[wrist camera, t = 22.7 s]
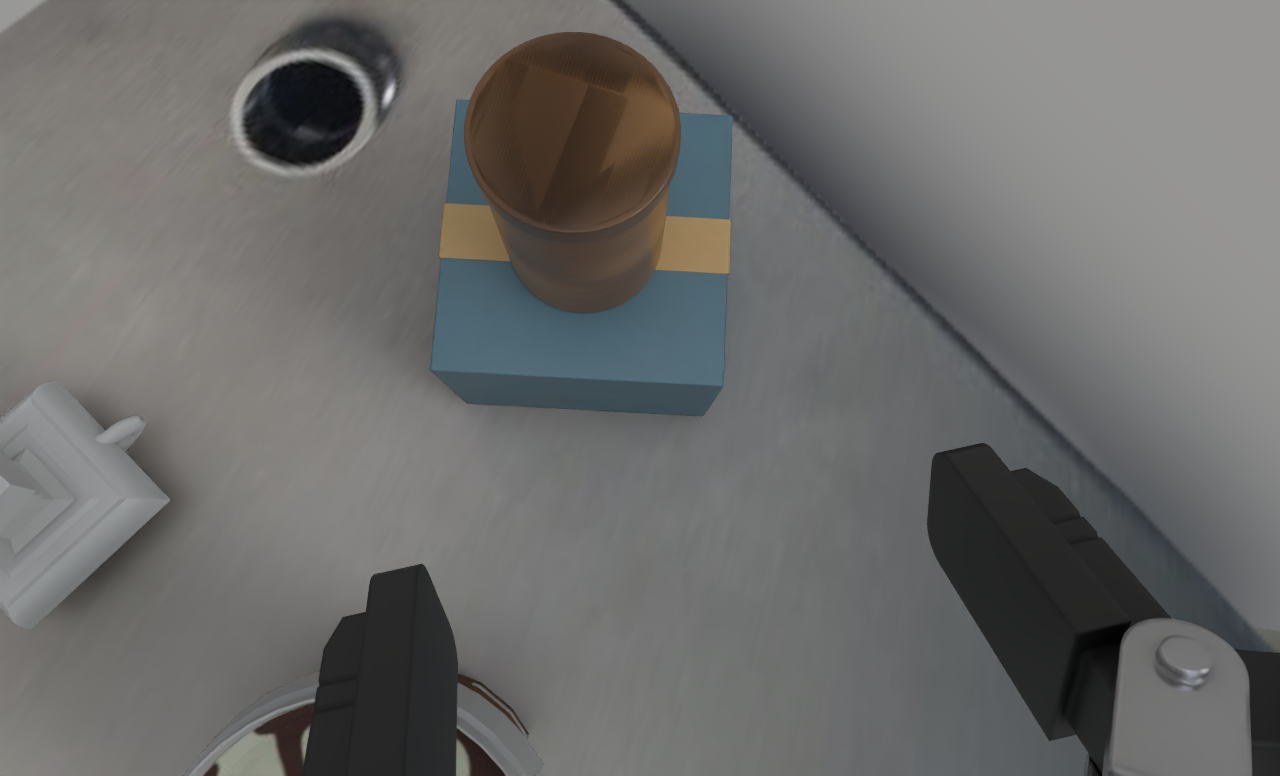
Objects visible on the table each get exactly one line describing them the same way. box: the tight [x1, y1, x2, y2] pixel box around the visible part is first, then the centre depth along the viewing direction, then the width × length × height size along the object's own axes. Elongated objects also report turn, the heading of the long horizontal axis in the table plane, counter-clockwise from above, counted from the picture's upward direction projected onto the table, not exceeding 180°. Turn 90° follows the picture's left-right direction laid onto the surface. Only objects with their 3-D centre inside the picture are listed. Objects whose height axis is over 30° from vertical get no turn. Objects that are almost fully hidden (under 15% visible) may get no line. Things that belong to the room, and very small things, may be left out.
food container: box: [183, 671, 544, 776], centre depth 28 cm, size 12×6×10 cm, turn 121°
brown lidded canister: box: [464, 32, 681, 313], centre depth 26 cm, size 6×6×8 cm
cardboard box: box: [430, 100, 733, 416], centre depth 33 cm, size 10×10×7 cm
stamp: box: [0, 381, 170, 629], centre depth 30 cm, size 9×7×8 cm
